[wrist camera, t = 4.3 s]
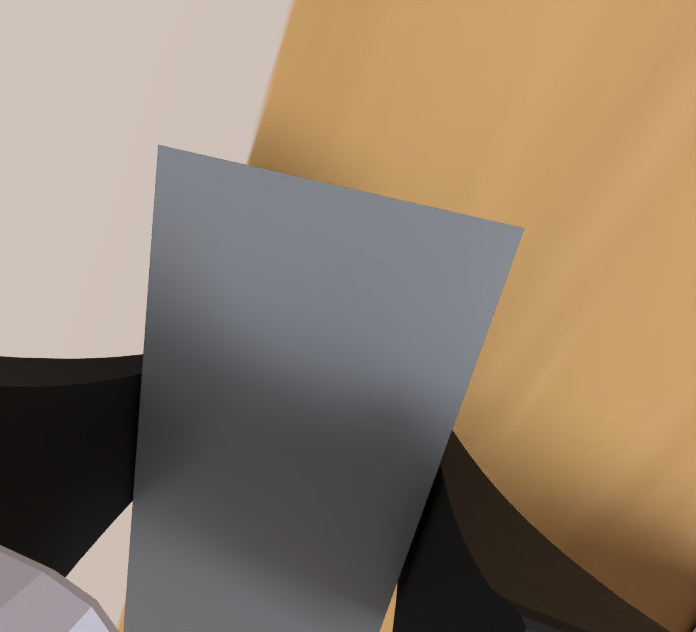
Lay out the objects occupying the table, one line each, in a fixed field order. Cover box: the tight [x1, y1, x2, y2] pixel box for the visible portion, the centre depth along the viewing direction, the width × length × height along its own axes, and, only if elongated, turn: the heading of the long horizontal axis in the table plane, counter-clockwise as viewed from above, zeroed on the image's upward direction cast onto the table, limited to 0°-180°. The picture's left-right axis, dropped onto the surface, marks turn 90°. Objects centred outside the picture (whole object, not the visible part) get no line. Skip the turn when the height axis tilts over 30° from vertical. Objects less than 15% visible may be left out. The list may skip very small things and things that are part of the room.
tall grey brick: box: [124, 145, 524, 632], centre depth 10 cm, size 6×13×6 cm, turn 166°
